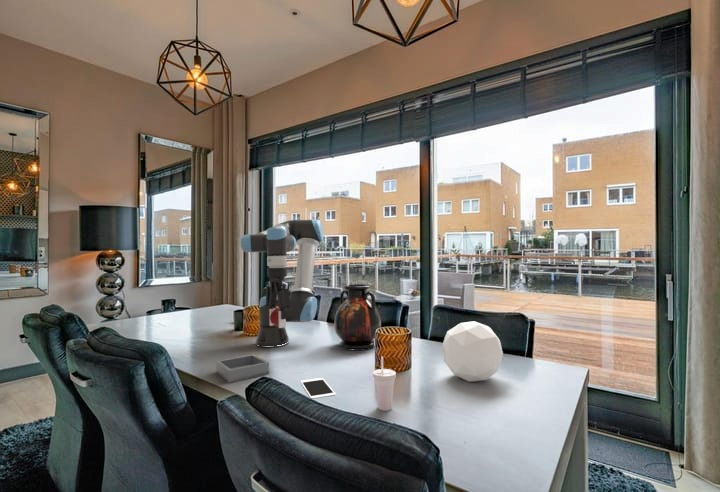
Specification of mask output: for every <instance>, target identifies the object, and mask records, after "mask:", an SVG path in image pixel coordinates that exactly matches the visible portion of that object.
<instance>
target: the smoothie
mask: <svg viewBox="0 0 720 492" xmlns="http://www.w3.org/2000/svg"><path fill="white" fill-rule="evenodd" d="M380 357H381V359H380V360H381V361H380V365H381V366H380V368H381V369H380V368H379V369H375V370H374V371H372V378H374V385H375V386H374V387H375V395H376V402H377V408H378V410H380V411H385V412H387V411H390V410H392V408H393V407H392V406H393V398H394V387H395V379H396V377H397V373H396V371H395V370H393V369H389V368H384V356H380Z"/></svg>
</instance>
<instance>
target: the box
mask: <svg viewBox="0 0 720 492" xmlns="http://www.w3.org/2000/svg"><path fill="white" fill-rule="evenodd" d="M215 371H216V373H217V374H218V375H219V376H221V378H223V379H224V380H225V381H226V382H228V383H229V384H230V383H235V382H239V381H243V380H247V379H248V380H249V379H252V378H256V376H257V377H262V376H266V375H270V363H269V362H268V361H267V360H265V359H263V358H262V357H259V356H258V355H256V354H249V355H242V356H236V357H233V358H227V359H226V358H225V359H222V360H221V359H220V360H216V370H215ZM261 375H262V376H261Z"/></svg>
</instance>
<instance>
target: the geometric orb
mask: <svg viewBox="0 0 720 492" xmlns="http://www.w3.org/2000/svg"><path fill="white" fill-rule="evenodd" d="M442 342H443V343H442V345H441V346H442V354H443V355H442V356H443V362H444V363H445V365H446V366H447V368H448V369H449V371H450V372H452V374H453V376H454V375H455V377H456V376H457V377H458V378H460V379H462V380H465V381H467V382H468V383H471V382H479V381H487V380H489V379H490V378H491V377H492V376H494V375H495V374H496V373H497V372H499V369H500V367H501V363H502V360H503V356H504V351H503V348H502V347H503V346H502V343H501V339H499V337H498V336H497V334H496V333H495V332H494V331H493V329H492V328H491V327H490V326H488V325H487V324H483V323H481V322H477V321H472V320H471V321H467V322H466V321H465V322H460V323H458V324H457V325H455V326H454V327H451V328H450V329H449V330H447V331H446V334H445V336H444V339H443V341H442Z"/></svg>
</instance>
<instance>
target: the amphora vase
mask: <svg viewBox="0 0 720 492" xmlns="http://www.w3.org/2000/svg"><path fill="white" fill-rule="evenodd" d="M342 288H343V290H342V291H341V292H340V294H339V295H340V296H339V305H340V306H339V307H338V309H337V310H336V313H335V316H334V323H333V326H334V327H333V328H334V329H333V330H334V331H335V334H336V336H337V337H338V338H339V339H340V340H341V341H340V342H339V346H340V347H341V348H342V347H343V349H345V348H346V349H345V350H348V349H354V350H353V351H363V350H362V349H366V350H369V349H368V348H370V349H372V348H374V347H375V346H374V341H375V339H376V337H375V331H376V329H377V328H381V327H382V322H381V317H380V313H379V310H378V309H377V307H376V296H375V294H374V292H372V291H369V289H371V288H372V286H371V284H365V283H364V284H363V283H361V284H360V283H354V284H345V285H343V286H342ZM345 294H346V298H345V297H344V296H345ZM369 296H370V299H369V298H368V297H369ZM344 298H345V299H344ZM381 329H382V328H381ZM373 346H374V347H373Z"/></svg>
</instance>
